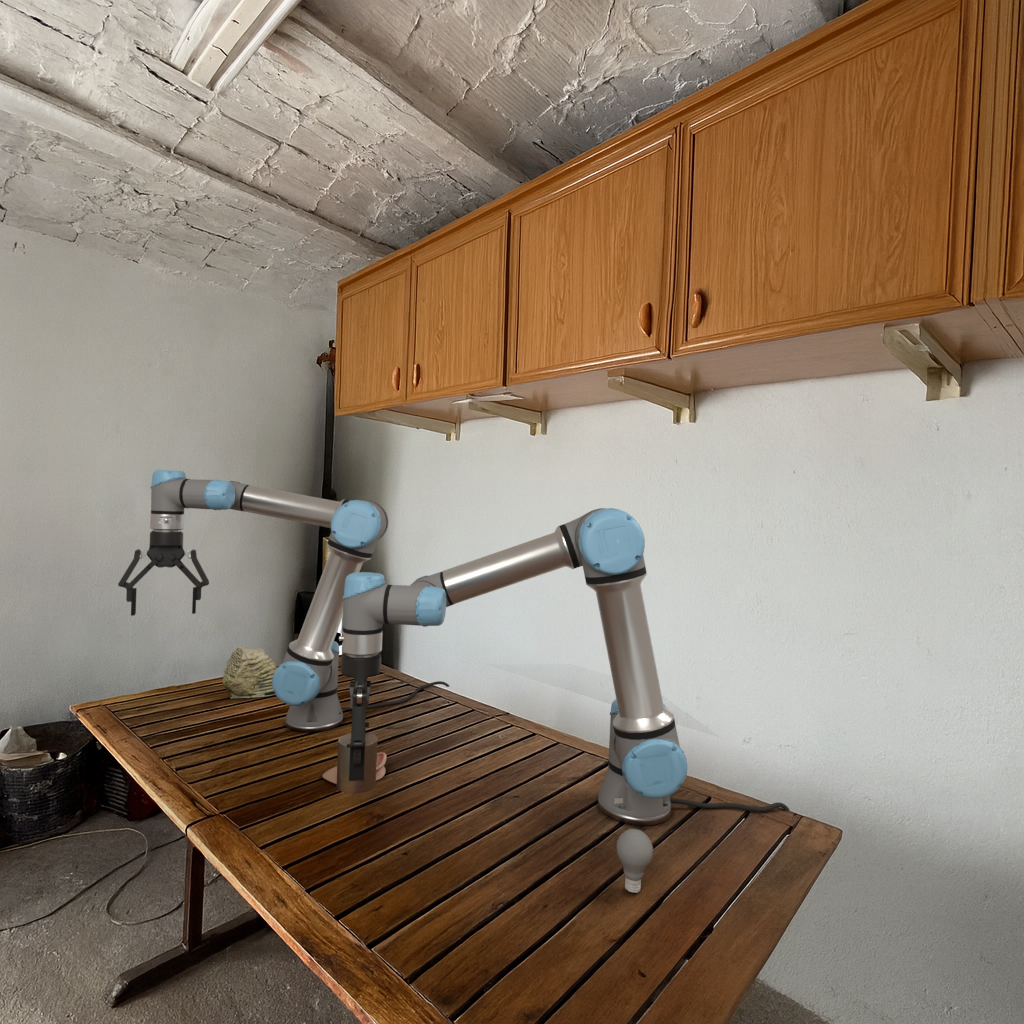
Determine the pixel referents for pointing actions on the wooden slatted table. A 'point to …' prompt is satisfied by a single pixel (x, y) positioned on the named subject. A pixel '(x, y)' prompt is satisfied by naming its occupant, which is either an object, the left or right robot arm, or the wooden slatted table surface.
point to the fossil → (249, 673)
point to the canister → (344, 763)
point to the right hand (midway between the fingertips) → (357, 770)
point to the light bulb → (634, 857)
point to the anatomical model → (380, 769)
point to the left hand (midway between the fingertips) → (164, 613)
